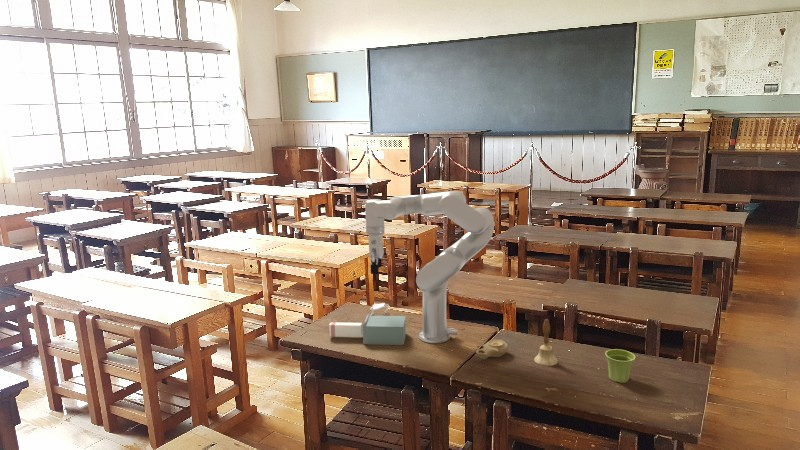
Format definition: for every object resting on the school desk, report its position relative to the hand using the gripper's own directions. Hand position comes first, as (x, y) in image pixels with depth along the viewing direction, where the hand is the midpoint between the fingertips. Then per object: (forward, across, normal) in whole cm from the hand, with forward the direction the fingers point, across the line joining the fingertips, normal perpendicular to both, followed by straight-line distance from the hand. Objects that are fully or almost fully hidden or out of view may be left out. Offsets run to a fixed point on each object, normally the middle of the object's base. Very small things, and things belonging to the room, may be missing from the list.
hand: (376, 270), depth 228 cm
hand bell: (+27, -26, -65) cm, 75 cm away
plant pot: (+26, -39, -87) cm, 99 cm away
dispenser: (+26, -8, -4) cm, 28 cm away
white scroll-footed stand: (+27, +17, +2) cm, 32 cm away
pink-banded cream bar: (+25, -8, +12) cm, 29 cm away
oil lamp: (+27, -23, -46) cm, 58 cm away
